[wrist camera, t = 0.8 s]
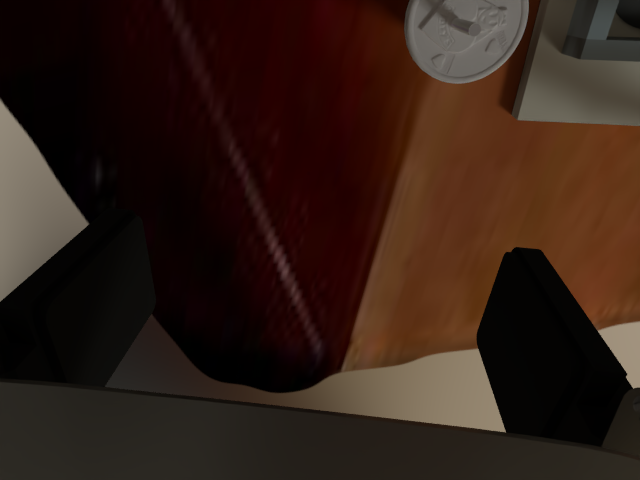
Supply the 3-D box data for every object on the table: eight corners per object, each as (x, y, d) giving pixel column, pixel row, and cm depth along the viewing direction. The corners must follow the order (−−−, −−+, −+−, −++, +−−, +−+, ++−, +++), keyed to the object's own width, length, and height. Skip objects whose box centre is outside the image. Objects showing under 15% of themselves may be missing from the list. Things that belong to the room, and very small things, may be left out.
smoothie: (390, -31, 30) (412, -46, 18) (486, -47, 29) (577, -74, 17) (395, 66, 33) (416, 110, 21) (481, 54, 32) (555, 93, 20)
